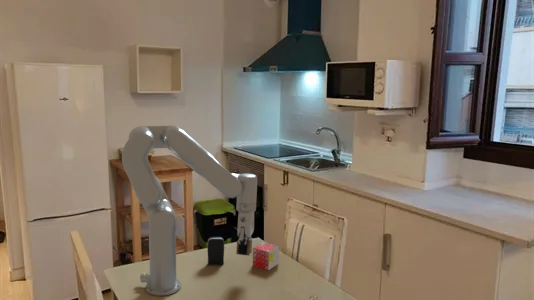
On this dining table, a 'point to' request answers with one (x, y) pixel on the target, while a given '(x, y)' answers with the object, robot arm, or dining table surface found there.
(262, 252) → the puzzle cube
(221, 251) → the battery charger
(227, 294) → the dining table surface
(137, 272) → the dining table surface
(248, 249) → the walnut block
